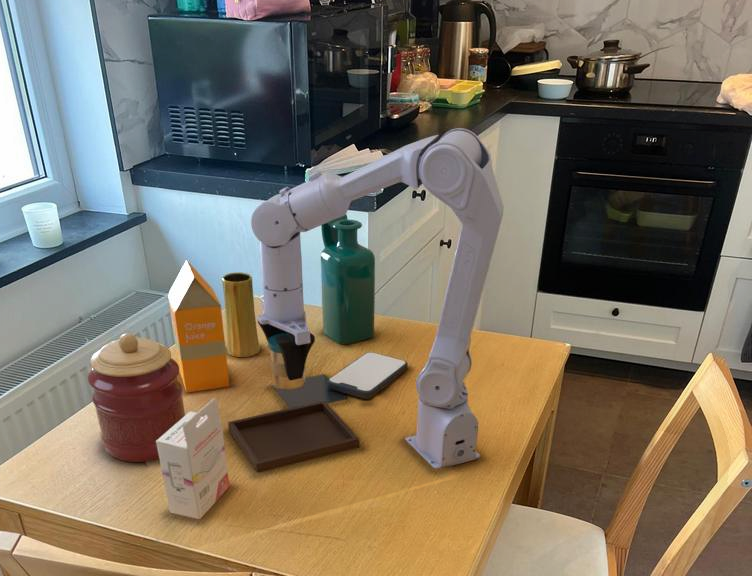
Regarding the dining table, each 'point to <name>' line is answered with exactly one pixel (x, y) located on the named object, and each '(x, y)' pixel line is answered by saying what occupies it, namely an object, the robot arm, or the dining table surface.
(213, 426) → the ink cartridge box
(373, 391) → the phone case
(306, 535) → the dining table surface
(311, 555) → the dining table surface
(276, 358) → the teal lidded glass jar
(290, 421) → the tray
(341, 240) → the green glass bottle
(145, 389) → the kitchen canister
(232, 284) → the vase
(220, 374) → the orange juice
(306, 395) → the slate coaster
